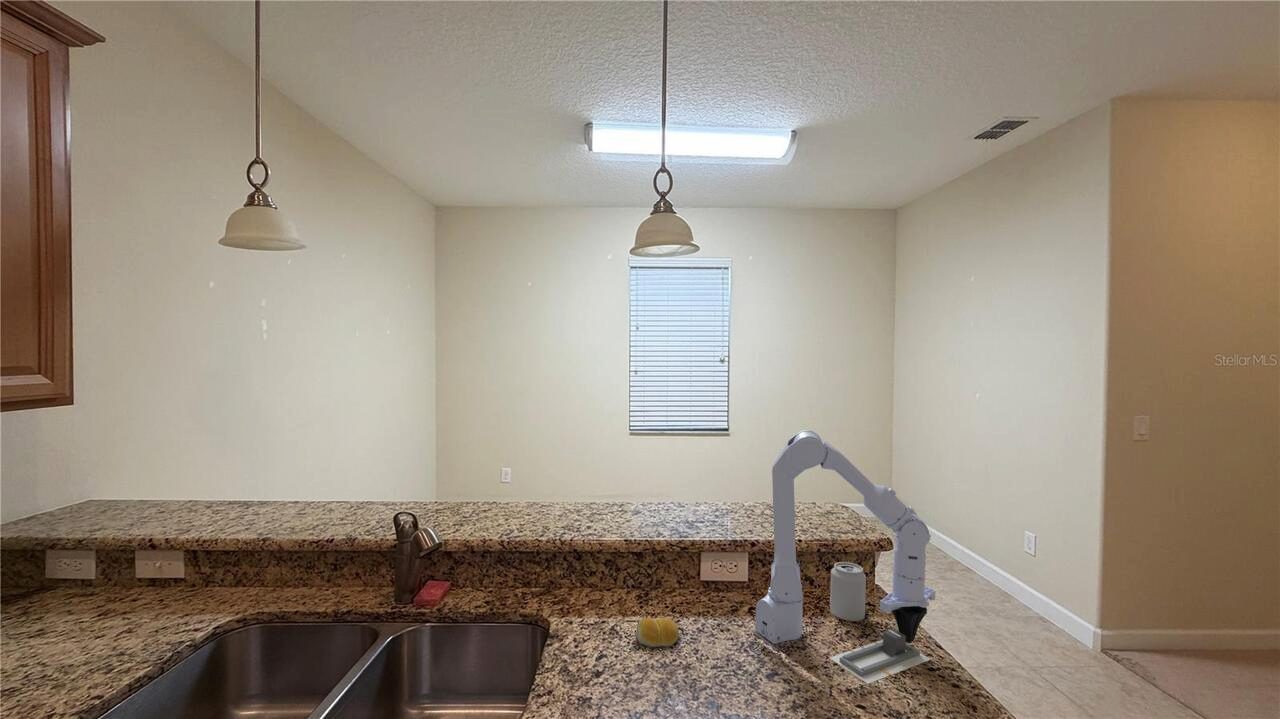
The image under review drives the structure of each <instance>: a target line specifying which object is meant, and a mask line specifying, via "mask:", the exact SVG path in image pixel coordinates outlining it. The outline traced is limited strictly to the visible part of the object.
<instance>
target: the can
mask: <svg viewBox="0 0 1280 719" xmlns="http://www.w3.org/2000/svg"><path fill="white" fill-rule="evenodd" d="M833 566H834V567H832V569H831V570H830V595H829V596H830V598H829V599H830V600H829V612H830V613H831V615H833V616H834V617H836V618H838V619H840V620H841V619H842V620H845V621H850V622H859V621H863V620H864V619H865V617H866V590H867V589H866V587H867V584H866V583H867V575H866V574H865V572H864V568H863V567H862V566H860V565H859V564H857V563H853V562H848V561H839V562H835V563H834V564H833Z"/></svg>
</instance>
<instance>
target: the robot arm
mask: <svg viewBox="0 0 1280 719" xmlns="http://www.w3.org/2000/svg"><path fill="white" fill-rule="evenodd" d="M819 465H820V467H821V469H824V470H831V471H835V472H836V474H837V473H838V475H839V476H841V478H843V479H844V480H845V481H846V482H847V483H848V484H850V485H851V486H852V487H853V488H854V489H856V490H857V492H859V493H860V494H861V495H862V496H863V505H864V506H865V507H866V508H867V509H868V510H869V511H870V512H871V513H872V514H873V515H874V516H875V517H877V518H878V519H879V521H881V522H882V523H883V524H884V525H885V526H886V527H887V528H888V529H892V532H893V533H895V534H896V535H895V537H894V547H893V570H892V571H893V572H892V574H893V576H892V577H893V579H892V590H891V591H890V592H889V593H888V594H887V595H886V596H885V597H884V598H883V599H880V600H879V611H881V612H883V613H886V614H887V615H889V614H893V616H894V620H895V621H896V625H897V629H898V630H897V631H899V632H900V633H902V634H904V635H906V644H911V643H913V642H914V641H915V638H916V636H917V632H918V629H919V626H920V624H921V623H922V621H923V619H924V617H925V616H926V615H927V614H928V608H927V607H929V606H930V602H929V601H934V600H936V590H935V589H933V588H930V587H927V586H925V584H926V582H925V581H926V559H927V558H926V546H927V545H928V543H929V542H930V540H931V538H932V537H931V534H930V530H929V527H928V526H927V524H926V523H925V522H924V520H922V519H921V517H920V516H918V514H917V513H916V512H915V509H914V508H912V506H907V505H906V504H905V503H904V502H903V501H902V500H901V499H900V498H898V497H897V496H896V494H897V492H896V491H895V490H894V489H893V488H892V487H889V488H888V487H886V486H885V485H882V484H879V485H878V484H874V483H873V482H872V481H871V480H870V479H868V478H867V476H865V475H864V474H863V472H862V471H860V470H859V468H858V467H857V466H855V465H854V464H853V463H852V462H851V461H850V460H849V459H848V458H847V457H846V456H845V455H844V454H843V453H842V452H841V451H840V450H838V449H837V448H836V447H835V446H833V445H832V444H831V443H829V442H828V441H826V440H825V439H823V441H822V438H821V437H820V436H819V434H817V433H816V432H815V431H812V430H801V431H799V432H797V433H796V434H794V435H793V436H792V437H791V438H789V439H788V440H787V443H786V444H785V445H784V448H783V449H782V450H781V452H780V453H779V455H778V457H777V458H776V459H775V461H774V462H773V464H772V468H771V478H772V480H771V481H772V509H773V513H772V514H773V515H772V516H773V517H772V518H773V545H774V546H773V550H774V553H773V554H774V559H773V561H772V563H771V566H770V573H771V575H770V577H771V579H770V585H769V586H770V587H768V590H767V593H766V595H765V596H764V597H763V598H761V599H759V600H758V601H757V603H756V605H755V623H754V624H755V627H754V629H755V631H754V630H752V634H753V635H755V636H757V637H758V638H759V639H760V640H762V641H763V642H765V643H766V644H767V645H769V647H771V648H773V649H774V650H775V651H780V648H778V647H776V646H775V644H779V643H782V642H786V641H795V640H798V639H800V638H801V637H802V634H803V607H804V606H803V602H804V595H803V591H802V590H803V585H802V582H801V568H800V565H799V563H798V561H797V550H796V549H797V548H796V544H797V543H796V512H795V507H796V506H795V479H796V478H797V477H799V475H801V474H802V473H803V472H804V471H807V470H809V469H811V468H815V467H816V466H819ZM928 600H929V601H928Z"/></svg>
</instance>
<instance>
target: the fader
mask: <svg viewBox="0 0 1280 719" xmlns="http://www.w3.org/2000/svg"><path fill="white" fill-rule="evenodd" d="M882 634H883V636H882V640H883V652H884V653H886V654H887V655H889V656H891V657H893V656H896V655H899V654H901V653H904V652H905V647H906V644H907V642H906V635H904V634H902V633H900V632H899V630H896V629H895V628H892V629H888V630H885V631H883V632H882Z"/></svg>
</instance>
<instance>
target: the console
mask: <svg viewBox="0 0 1280 719" xmlns="http://www.w3.org/2000/svg"><path fill="white" fill-rule="evenodd" d="M829 659H830V660H832V661H833V662H835V664H837V665H839V666H840V667H842V668H843V669H845V670H846V671H848V672H849V673H850V674H852V675H854V676H855V677H857V678H858V679H860V680H861V681H862V682H864V683H866V684H868V685H869V684H871V683H874V682H877V681H879V680H882V679H885V678H887V677H890V676H891V675H895V674H897V673H899V672H903V671H905V670H908V669H910V668H912V667H915V666H918V665H921V664H923V663H926V662H928V661H931V660H932V658H929V656H926V655H924V654H923V653H921V650H919V649H917V648H915V647H913V646H911V645H910V644H909V643H906V647H905V652H904V653H901V654H899V655H896V656H893V657H891V656H889V655H887V654H886V653H884V652H883V639H880V640H876V641H875V642H872V643H869V644H865V645H863V646H860V647H856V648H853V649H851V650H848V651H845V652H842V653H839V654H836V655H833V656H830V657H829Z"/></svg>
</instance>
